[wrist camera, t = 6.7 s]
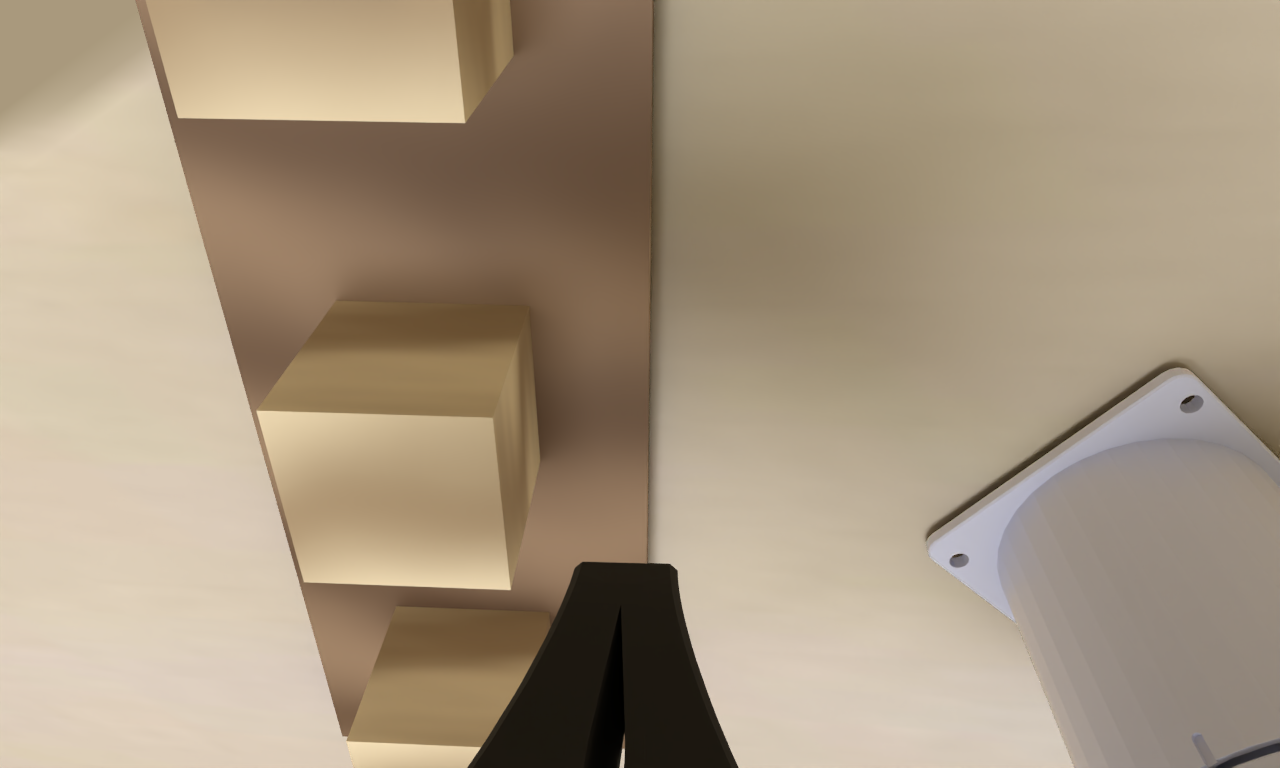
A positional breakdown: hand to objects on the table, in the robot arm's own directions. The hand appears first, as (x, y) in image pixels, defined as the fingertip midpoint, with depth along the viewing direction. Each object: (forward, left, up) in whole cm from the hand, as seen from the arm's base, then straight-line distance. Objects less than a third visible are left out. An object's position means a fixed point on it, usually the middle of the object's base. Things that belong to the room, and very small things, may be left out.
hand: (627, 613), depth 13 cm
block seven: (-4, +13, -9) cm, 16 cm away
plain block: (+2, +5, -9) cm, 11 cm away
